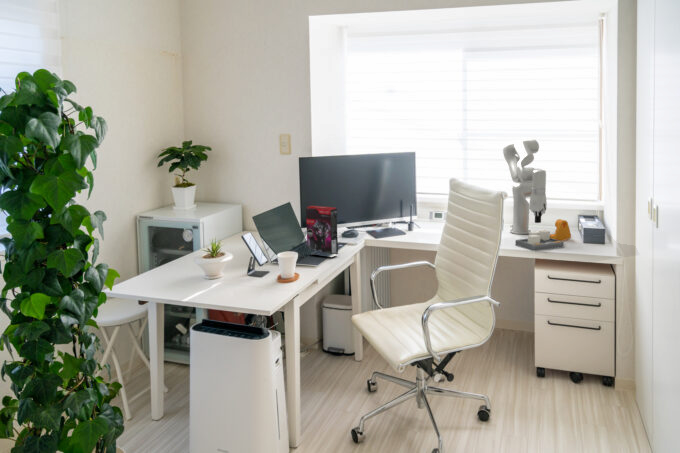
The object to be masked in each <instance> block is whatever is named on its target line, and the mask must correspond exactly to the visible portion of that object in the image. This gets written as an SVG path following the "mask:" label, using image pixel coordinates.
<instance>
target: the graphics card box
mask: <svg viewBox="0 0 680 453" xmlns="http://www.w3.org/2000/svg"><path fill="white" fill-rule="evenodd" d="M305 219H306V220H305V221H306V224H305V225H306V249H307V248H308V249H312V250H316V251H320V252H325V253H329V254H338V255H339V244H338V238H339V237H338V208H337V207H330V206H322V205H321V206H320V205H309V206H307V207H305Z"/></svg>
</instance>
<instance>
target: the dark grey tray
mask: <svg viewBox="0 0 680 453" xmlns="http://www.w3.org/2000/svg"><path fill="white" fill-rule="evenodd" d="M564 244H565V242H564V240H563V241H559V240H556V239H552V238H550V240H542V239H540V244H534V245H532V244H529V243H528V238H521V239H515V246H517V247H521V248H524V249H527V250H530V251H533V252H534V251H535V252H536V251H543V250H550V249H558V247H559V248H564V247H565V246H564Z"/></svg>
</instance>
